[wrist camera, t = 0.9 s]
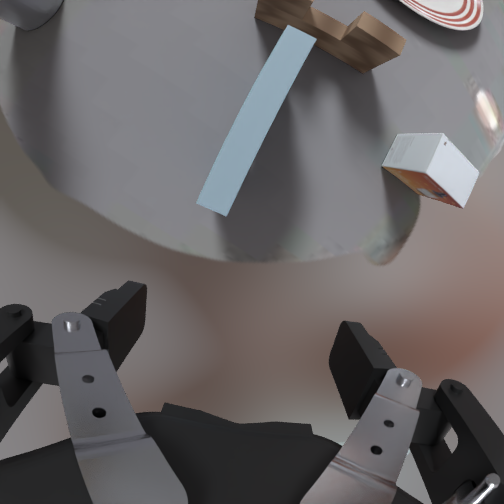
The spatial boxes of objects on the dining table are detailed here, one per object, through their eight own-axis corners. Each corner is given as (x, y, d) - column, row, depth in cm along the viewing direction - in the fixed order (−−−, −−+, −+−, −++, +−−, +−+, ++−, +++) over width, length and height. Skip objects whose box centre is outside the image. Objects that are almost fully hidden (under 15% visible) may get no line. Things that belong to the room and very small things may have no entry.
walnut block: (254, 17, 29) (262, -20, 20) (262, 4, 29) (273, -34, 19) (362, 73, 33) (400, 55, 23) (368, 60, 32) (406, 40, 23)
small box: (379, 165, 37) (424, 172, 27) (396, 132, 36) (443, 131, 26) (418, 195, 39) (464, 210, 29) (433, 164, 37) (480, 172, 27)
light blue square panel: (209, 183, 36) (196, 203, 22) (265, 71, 32) (287, 24, 18) (227, 191, 37) (226, 216, 23) (283, 79, 33) (316, 38, 18)
